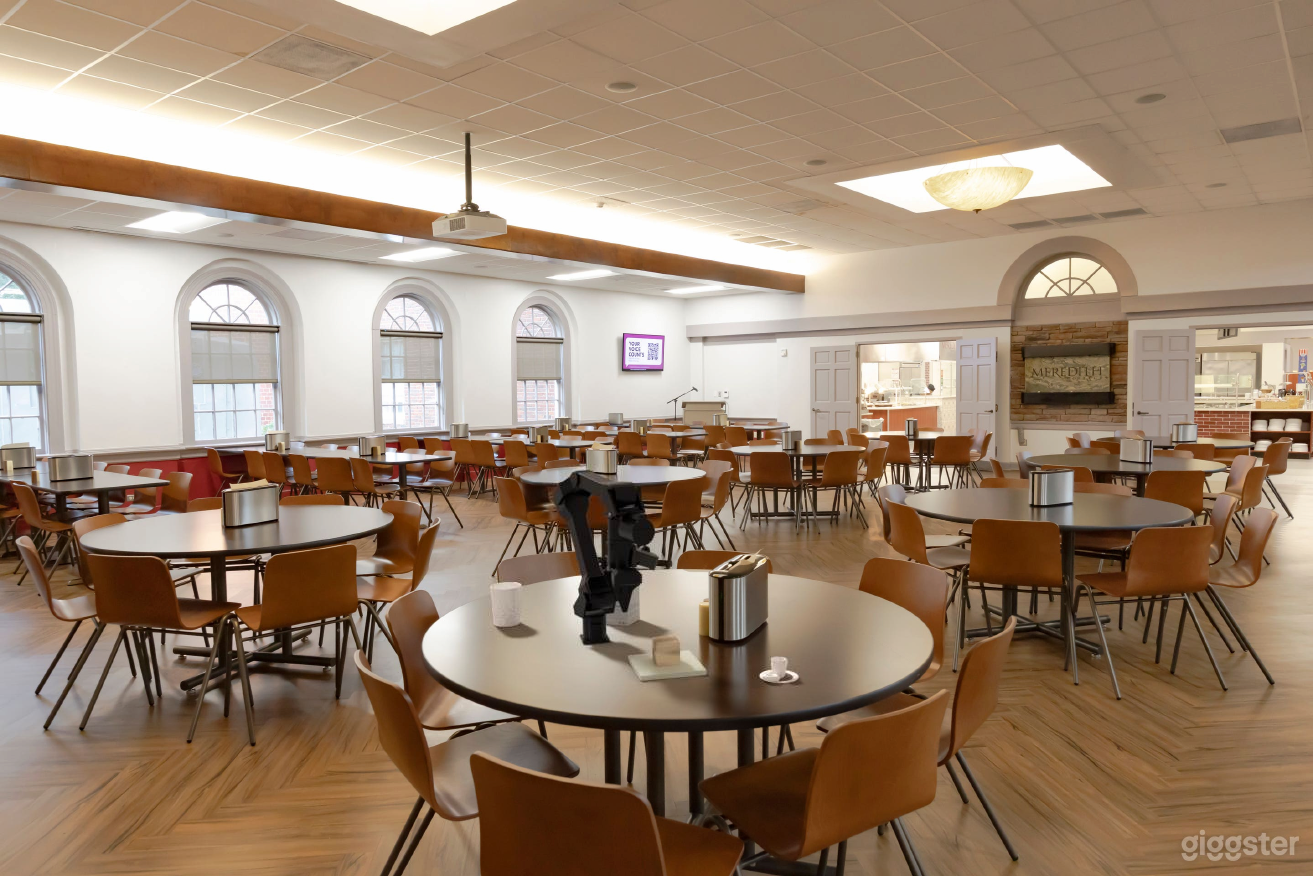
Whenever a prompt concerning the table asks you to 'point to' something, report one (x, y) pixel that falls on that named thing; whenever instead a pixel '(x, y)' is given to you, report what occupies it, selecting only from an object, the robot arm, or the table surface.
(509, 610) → the white cup
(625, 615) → the supplement box
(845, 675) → the table surface
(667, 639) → the maple cube
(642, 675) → the sage board
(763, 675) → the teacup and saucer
